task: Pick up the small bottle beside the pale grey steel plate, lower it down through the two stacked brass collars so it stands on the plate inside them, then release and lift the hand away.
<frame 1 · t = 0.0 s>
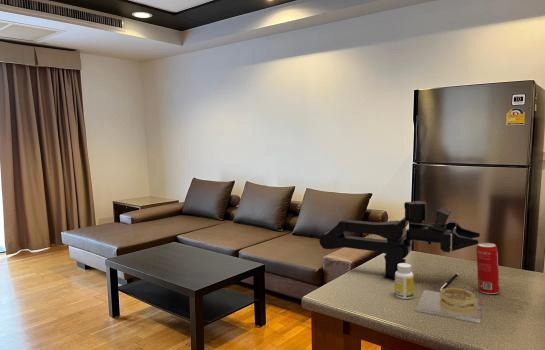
hand: (479, 238, 121), 17 cm above the table, tool horizontal, fingers open, 9 cm apart
supplement bottle: (404, 296, 120), on the table
pen: (449, 283, 130), on the table
beverage can: (487, 291, 121), on the table
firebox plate: (449, 306, 111), on the table
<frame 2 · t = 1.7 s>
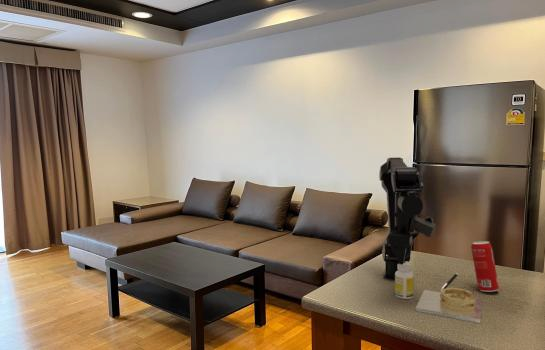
hand: (404, 259, 118), 11 cm above the table, tool pointing down, fingers open, 9 cm apart
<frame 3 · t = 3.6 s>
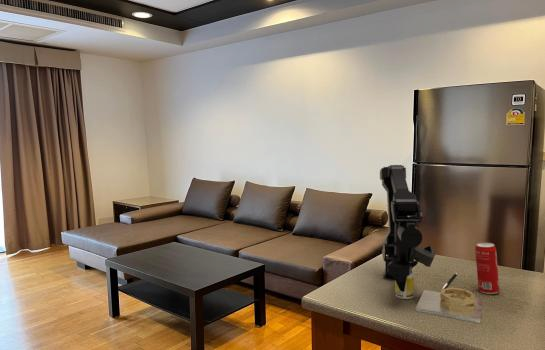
hand: (404, 288, 119), 3 cm above the table, tool pointing down, fingers closed on supplement bottle, 5 cm apart
supplement bottle: (404, 296, 120), on the table, touching gripper
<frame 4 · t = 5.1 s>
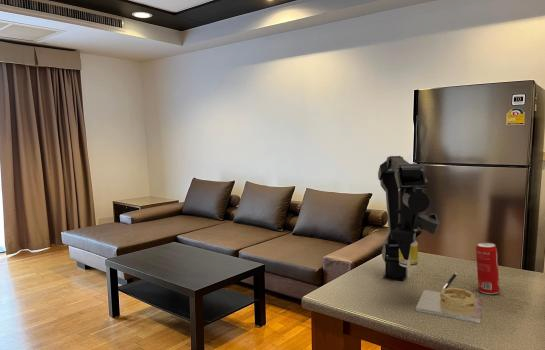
hand: (408, 256, 118), 13 cm above the table, tool pointing down, fingers closed on supplement bottle, 5 cm apart
supplement bottle: (408, 265, 118), point 10 cm above the table, touching gripper
everything else where it was.
when the fingers open (5 cm above the table, at t = 8.0 s): supplement bottle drops 2 cm, resting on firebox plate.
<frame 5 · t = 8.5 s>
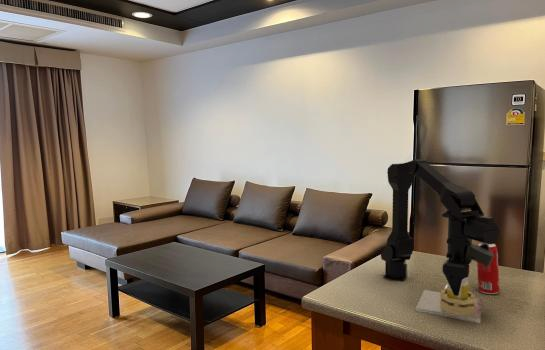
hand: (457, 289, 110), 5 cm above the table, tool pointing down, fingers open, 9 cm apart
supplement bottle: (457, 305, 110), point 1 cm above the table, touching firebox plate
everything else where it was.
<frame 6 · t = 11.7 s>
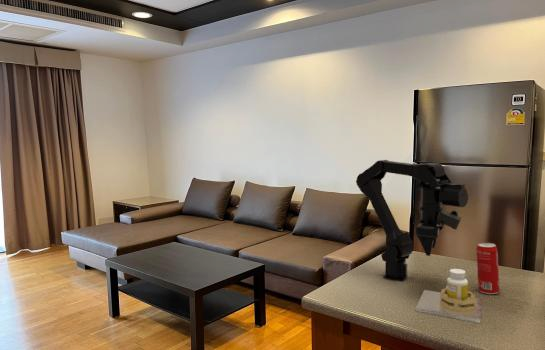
hand: (430, 251, 124), 12 cm above the table, tool pointing down, fingers open, 9 cm apart
nothing on the table moved.
at the end: supplement bottle 0.1 cm from the target spot on the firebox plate, point 0.8 cm above the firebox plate's base; supplement bottle tilted 0°; the gripper is holding nothing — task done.
